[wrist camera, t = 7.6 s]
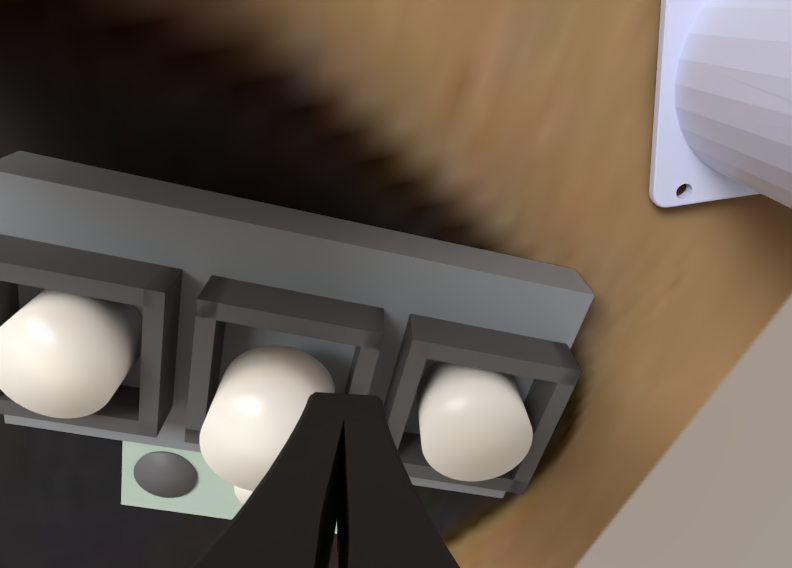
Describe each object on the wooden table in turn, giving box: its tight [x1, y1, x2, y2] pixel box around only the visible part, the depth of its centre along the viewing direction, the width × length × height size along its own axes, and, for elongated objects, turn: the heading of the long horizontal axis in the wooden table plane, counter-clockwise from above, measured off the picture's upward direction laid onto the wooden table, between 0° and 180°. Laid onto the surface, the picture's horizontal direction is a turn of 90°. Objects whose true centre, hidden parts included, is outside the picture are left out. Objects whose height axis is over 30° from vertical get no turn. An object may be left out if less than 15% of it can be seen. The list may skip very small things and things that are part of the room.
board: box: [0, 151, 595, 498], centre depth 19 cm, size 19×10×4 cm, turn 77°
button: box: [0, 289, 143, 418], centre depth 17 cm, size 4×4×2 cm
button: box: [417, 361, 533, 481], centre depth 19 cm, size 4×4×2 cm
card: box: [121, 441, 337, 534], centre depth 24 cm, size 12×4×1 cm, turn 77°
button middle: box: [199, 345, 335, 491], centre depth 16 cm, size 4×4×2 cm
